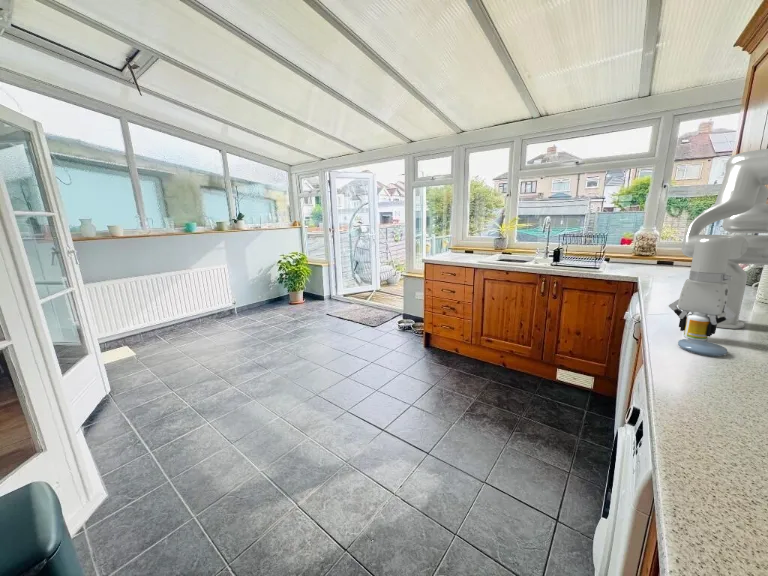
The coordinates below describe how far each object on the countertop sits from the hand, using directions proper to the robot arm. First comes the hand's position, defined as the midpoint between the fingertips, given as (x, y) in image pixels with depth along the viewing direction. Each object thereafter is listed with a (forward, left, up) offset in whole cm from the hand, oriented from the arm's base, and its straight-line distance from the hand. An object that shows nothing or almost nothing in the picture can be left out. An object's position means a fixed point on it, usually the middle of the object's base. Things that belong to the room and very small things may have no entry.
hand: (695, 332), depth 98 cm
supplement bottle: (0, 0, -2) cm, 2 cm away
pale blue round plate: (+11, +4, -2) cm, 12 cm away
